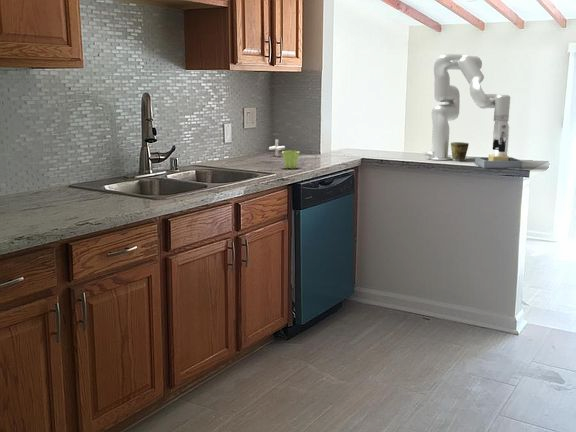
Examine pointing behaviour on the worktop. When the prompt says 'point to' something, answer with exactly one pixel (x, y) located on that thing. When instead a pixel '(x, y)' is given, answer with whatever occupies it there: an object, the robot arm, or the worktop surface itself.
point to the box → (498, 162)
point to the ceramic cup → (459, 150)
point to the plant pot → (290, 158)
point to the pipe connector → (276, 147)
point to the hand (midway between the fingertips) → (498, 150)
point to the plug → (497, 152)
